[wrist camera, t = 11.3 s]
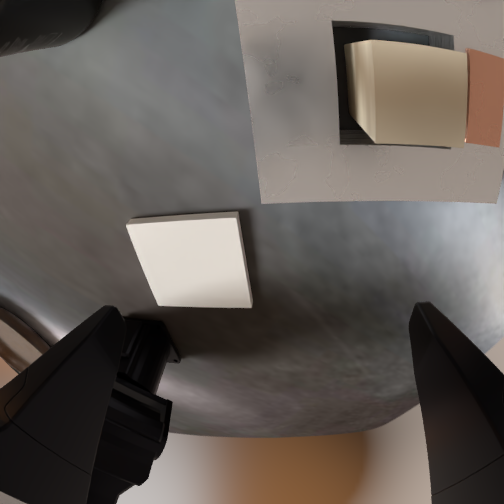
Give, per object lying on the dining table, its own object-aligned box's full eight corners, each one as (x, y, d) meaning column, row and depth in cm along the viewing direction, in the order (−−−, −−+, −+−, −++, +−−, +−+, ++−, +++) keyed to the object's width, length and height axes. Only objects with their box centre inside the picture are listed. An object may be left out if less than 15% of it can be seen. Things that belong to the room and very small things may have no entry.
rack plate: (474, 182, 16) (517, 226, 11) (266, 180, 18) (256, 229, 14) (475, -22, 8) (528, -32, 3) (236, -45, 10) (212, -82, 6)
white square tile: (252, 300, 24) (251, 307, 24) (161, 299, 26) (158, 305, 25) (238, 211, 20) (236, 217, 19) (130, 219, 21) (125, 224, 20)
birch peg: (414, 115, 14) (463, 148, 10) (348, 113, 15) (375, 143, 10) (413, 49, 12) (466, 53, 7) (343, 44, 13) (371, 39, 8)
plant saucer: (93, 385, 42) (86, 401, 39) (25, 366, 46) (18, 378, 43) (19, 294, 30) (6, 312, 28) (-35, 291, 34) (-45, 303, 32)
